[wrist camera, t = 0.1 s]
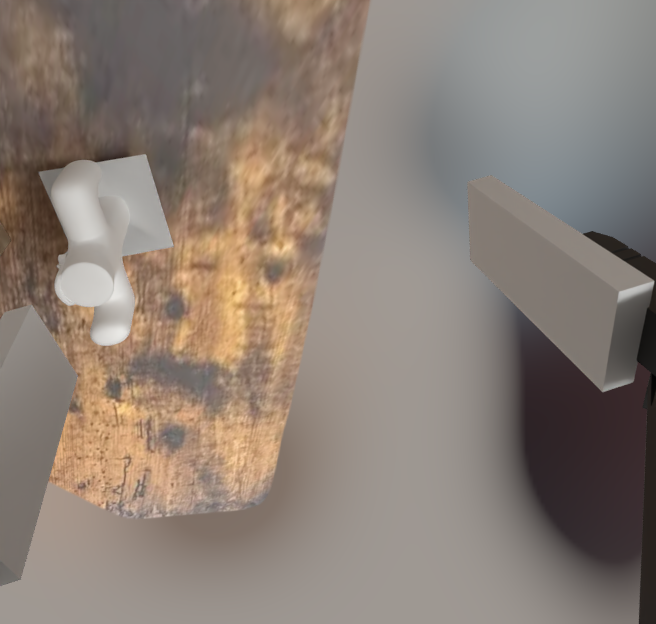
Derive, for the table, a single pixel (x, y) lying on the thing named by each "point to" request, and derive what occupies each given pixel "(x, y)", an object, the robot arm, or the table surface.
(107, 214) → the figurine
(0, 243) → the bridge shelf
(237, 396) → the table surface
